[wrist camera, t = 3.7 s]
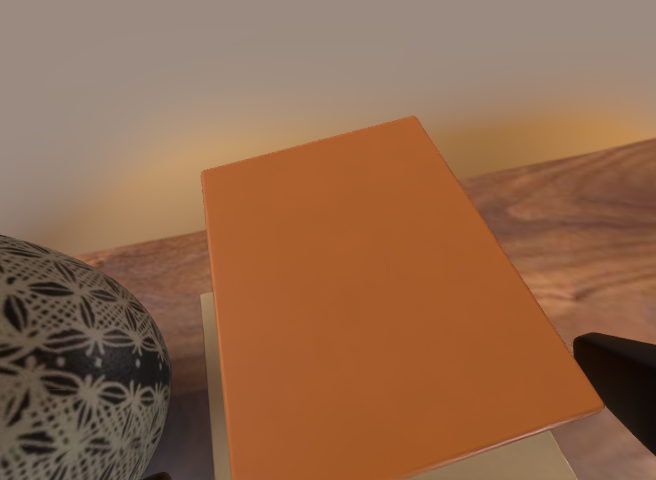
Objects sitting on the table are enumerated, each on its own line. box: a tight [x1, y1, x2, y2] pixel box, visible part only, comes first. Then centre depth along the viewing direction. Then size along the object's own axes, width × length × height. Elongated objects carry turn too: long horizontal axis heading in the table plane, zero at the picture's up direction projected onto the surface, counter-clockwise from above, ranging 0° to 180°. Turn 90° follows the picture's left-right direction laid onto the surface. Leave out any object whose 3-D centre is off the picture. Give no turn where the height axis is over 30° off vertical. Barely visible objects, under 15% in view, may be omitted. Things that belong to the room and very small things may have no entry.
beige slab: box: [200, 291, 577, 480], centre depth 15 cm, size 11×12×5 cm
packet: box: [201, 116, 605, 480], centre depth 9 cm, size 5×4×10 cm
